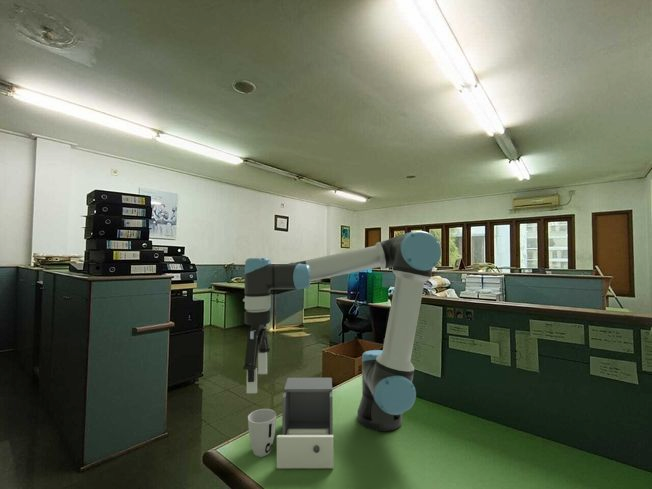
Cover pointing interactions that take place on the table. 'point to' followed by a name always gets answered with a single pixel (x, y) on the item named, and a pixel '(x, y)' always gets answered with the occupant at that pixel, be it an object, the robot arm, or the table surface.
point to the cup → (262, 431)
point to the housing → (307, 404)
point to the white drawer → (305, 449)
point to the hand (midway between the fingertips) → (257, 382)
